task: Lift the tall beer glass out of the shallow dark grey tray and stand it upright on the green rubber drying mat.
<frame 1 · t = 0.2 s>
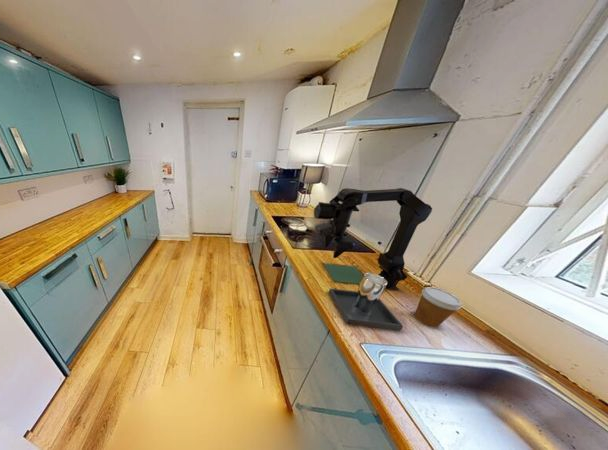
hand: (330, 252, 87), 15 cm above the counter, tool pointing down, fingers open, 9 cm apart
dark grey tray: (360, 310, 77), on the counter
beer glass: (360, 309, 76), resting on dark grey tray
drying mat: (345, 274, 97), on the counter
disposable coffee cup: (425, 320, 73), on the counter
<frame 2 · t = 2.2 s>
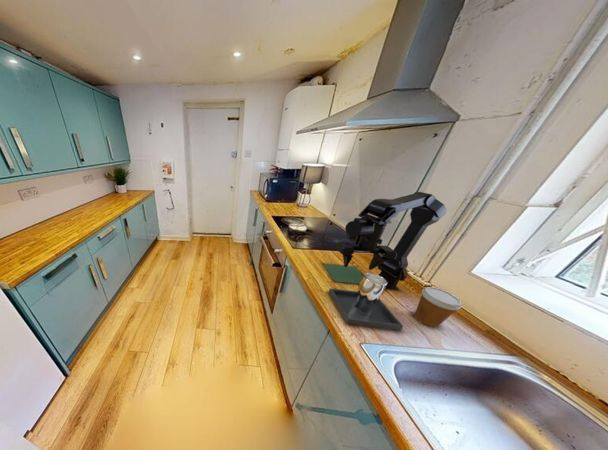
hand: (357, 268, 79), 13 cm above the counter, tool pointing down, fingers open, 9 cm apart
nothing on the counter moved.
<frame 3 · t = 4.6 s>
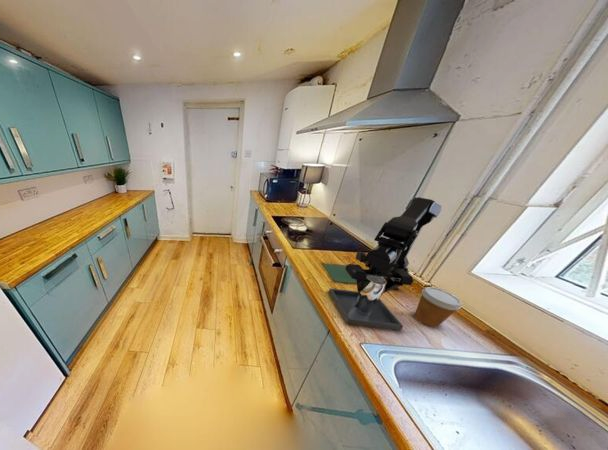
hand: (369, 292, 73), 9 cm above the counter, tool pointing down, fingers closed on beer glass, 7 cm apart
beer glass: (360, 309, 76), resting on dark grey tray, touching gripper
everything else where it was.
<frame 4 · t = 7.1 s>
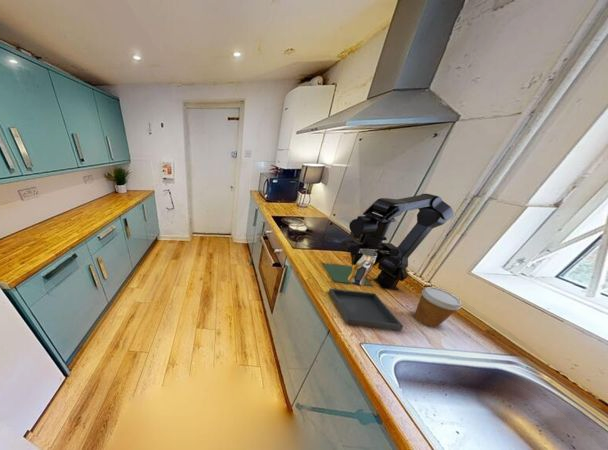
hand: (362, 265, 82), 13 cm above the counter, tool pointing down, fingers closed on beer glass, 7 cm apart
beer glass: (355, 281, 85), point 4 cm above the counter, touching gripper
everything else where it was.
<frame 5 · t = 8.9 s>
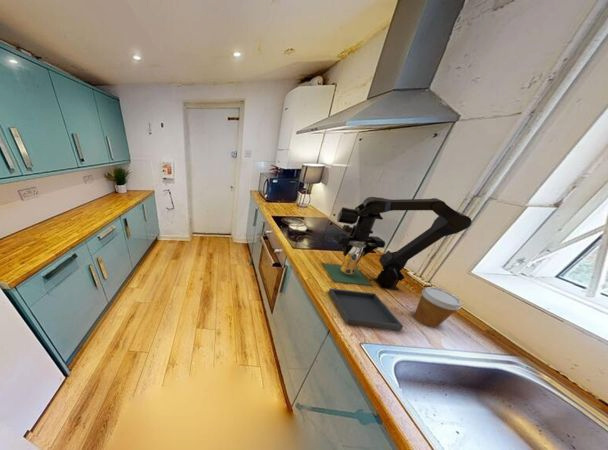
hand: (352, 256, 92), 10 cm above the counter, tool pointing down, fingers closed on beer glass, 7 cm apart
beer glass: (346, 271, 96), point 2 cm above the counter, touching gripper
everything else where it was.
when the fingers open (9 cm above the counter, at t = 10.0 s): beer glass stays where it is, resting on drying mat.
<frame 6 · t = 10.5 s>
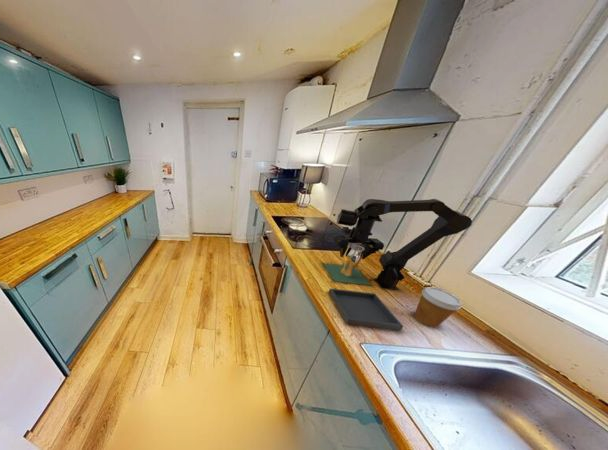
hand: (351, 257, 93), 10 cm above the counter, tool pointing down, fingers open, 9 cm apart
beer glass: (345, 273, 97), resting on drying mat
everything else where it was.
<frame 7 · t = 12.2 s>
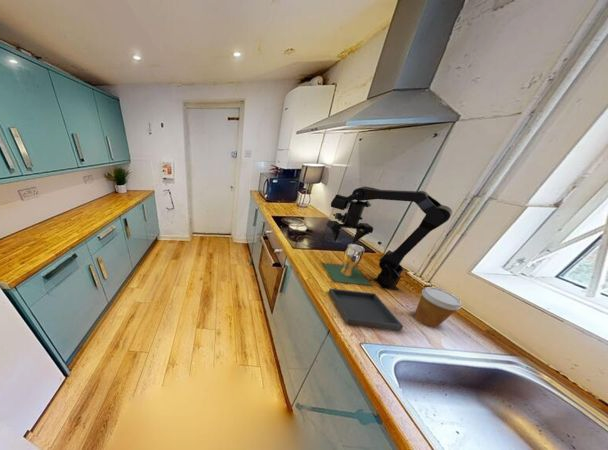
hand: (344, 241, 100), 13 cm above the counter, tool pointing down, fingers open, 9 cm apart
nothing on the counter moved.
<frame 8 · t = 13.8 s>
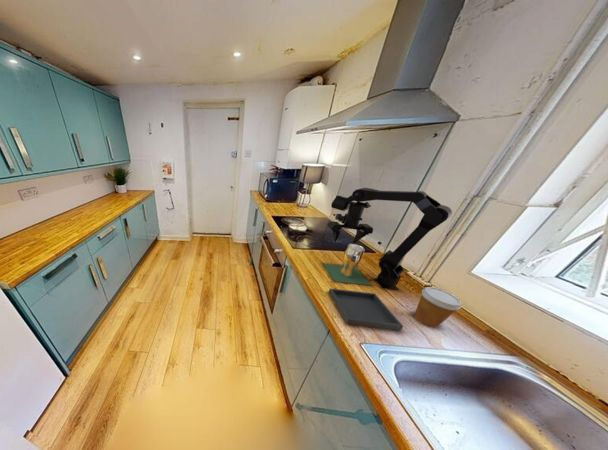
hand: (344, 242, 101), 12 cm above the counter, tool pointing down, fingers open, 9 cm apart
nothing on the counter moved.
at the end: beer glass inside the target area on the drying mat (0.1 cm from its centre), point 0.2 cm above the drying mat's base; beer glass tilted 0°; the gripper is holding nothing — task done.
